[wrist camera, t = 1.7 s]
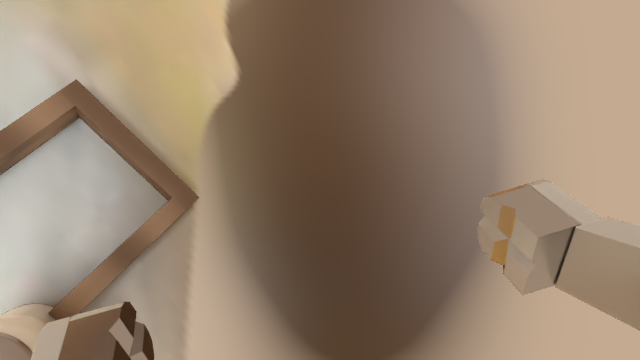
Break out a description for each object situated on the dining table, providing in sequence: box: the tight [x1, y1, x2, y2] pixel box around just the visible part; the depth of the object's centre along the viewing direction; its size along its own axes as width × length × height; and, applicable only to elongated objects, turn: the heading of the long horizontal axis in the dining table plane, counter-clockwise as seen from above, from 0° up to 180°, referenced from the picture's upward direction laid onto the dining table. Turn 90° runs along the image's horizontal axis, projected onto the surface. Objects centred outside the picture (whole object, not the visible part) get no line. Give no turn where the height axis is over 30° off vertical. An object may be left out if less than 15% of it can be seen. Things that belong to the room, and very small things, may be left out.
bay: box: [0, 80, 199, 320], centre depth 31 cm, size 13×13×3 cm
